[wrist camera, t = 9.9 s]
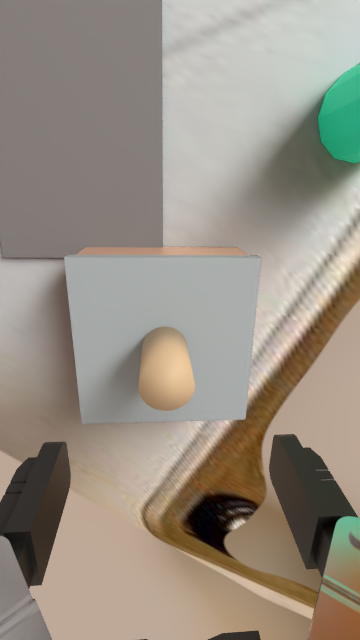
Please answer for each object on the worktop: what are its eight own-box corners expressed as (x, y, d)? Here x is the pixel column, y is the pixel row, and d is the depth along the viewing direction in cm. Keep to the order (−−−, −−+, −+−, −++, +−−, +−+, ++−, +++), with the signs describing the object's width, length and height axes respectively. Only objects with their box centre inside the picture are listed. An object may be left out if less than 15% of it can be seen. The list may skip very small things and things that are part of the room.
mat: (-40, -13, 20) (-44, -17, 20) (161, -2, 21) (161, -5, 20) (5, 256, 25) (3, 257, 25) (162, 257, 26) (162, 258, 26)
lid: (68, 254, 21) (35, 276, 15) (256, 255, 22) (291, 275, 16) (84, 415, 25) (63, 479, 19) (242, 411, 26) (265, 470, 20)
